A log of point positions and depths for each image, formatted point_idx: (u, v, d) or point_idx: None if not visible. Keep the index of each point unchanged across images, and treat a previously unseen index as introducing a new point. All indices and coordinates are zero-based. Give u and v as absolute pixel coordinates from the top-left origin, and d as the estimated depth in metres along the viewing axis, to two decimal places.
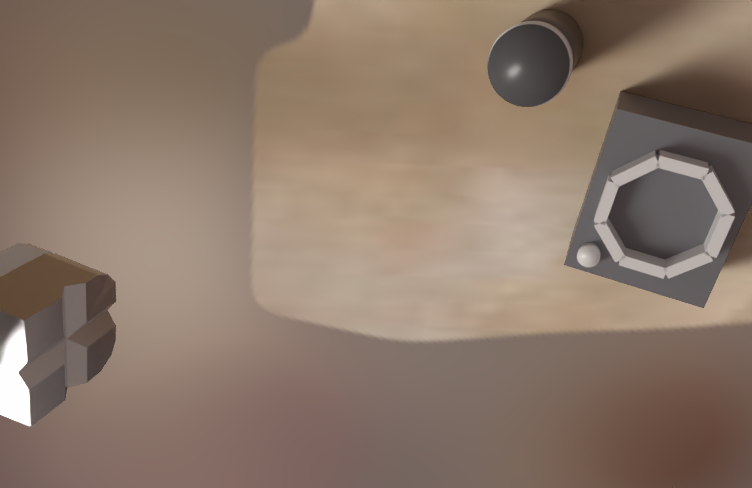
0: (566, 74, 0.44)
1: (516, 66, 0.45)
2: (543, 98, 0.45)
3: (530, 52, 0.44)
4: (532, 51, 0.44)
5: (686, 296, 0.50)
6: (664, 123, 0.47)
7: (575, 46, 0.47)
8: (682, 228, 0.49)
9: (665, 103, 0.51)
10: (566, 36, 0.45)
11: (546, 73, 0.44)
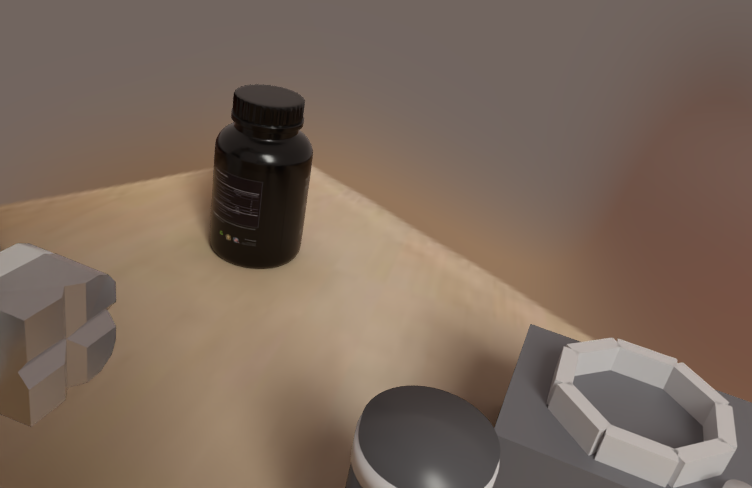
0: (446, 393, 0.27)
1: (429, 446, 0.24)
2: (484, 425, 0.26)
3: (406, 424, 0.25)
4: (405, 421, 0.25)
5: (745, 414, 0.36)
6: (509, 394, 0.34)
7: None
8: (650, 402, 0.36)
9: None
10: None
11: (443, 413, 0.26)
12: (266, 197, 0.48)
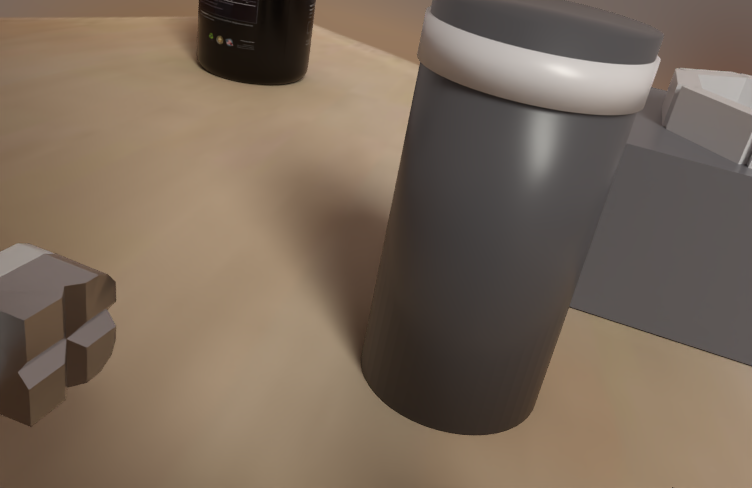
0: None
1: (550, 13, 0.15)
2: (625, 19, 0.16)
3: (507, 0, 0.16)
4: None
5: None
6: None
7: None
8: None
9: None
10: None
11: (559, 4, 0.17)
12: None
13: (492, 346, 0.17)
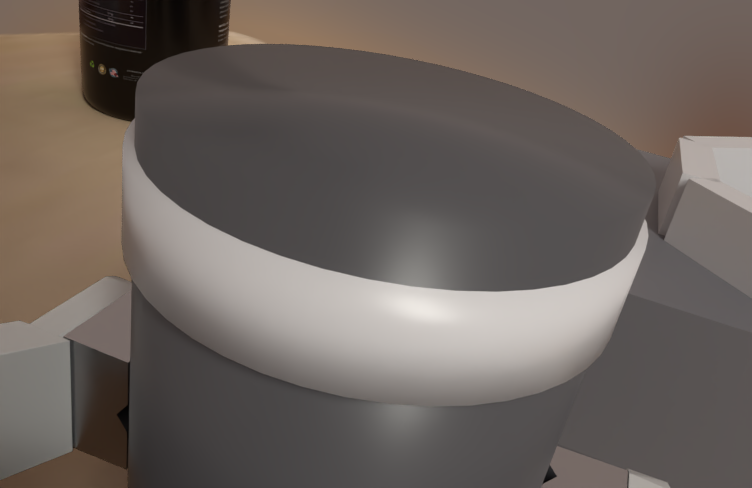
0: (450, 70, 0.09)
1: (392, 133, 0.06)
2: (579, 123, 0.08)
3: (318, 91, 0.07)
4: (314, 87, 0.07)
5: None
6: None
7: None
8: None
9: None
10: None
11: (443, 91, 0.08)
12: None
13: None
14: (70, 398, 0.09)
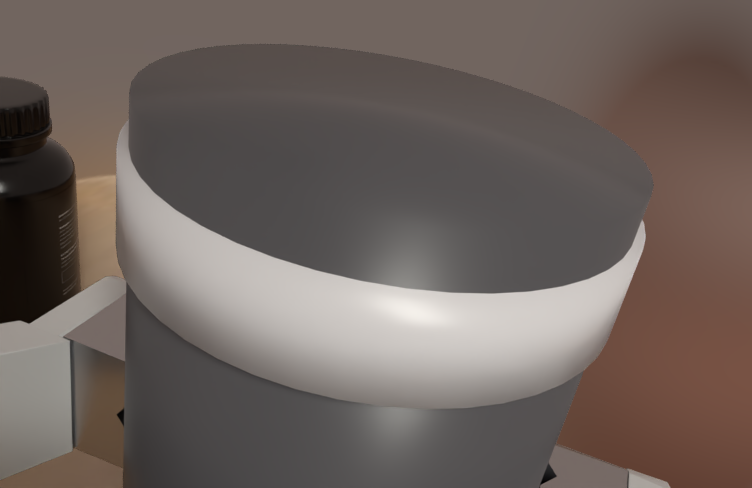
0: (447, 70, 0.09)
1: (388, 133, 0.06)
2: (576, 123, 0.08)
3: (314, 92, 0.07)
4: (310, 88, 0.07)
5: None
6: None
7: None
8: None
9: None
10: None
11: (440, 92, 0.08)
12: None
13: None
14: (70, 398, 0.09)
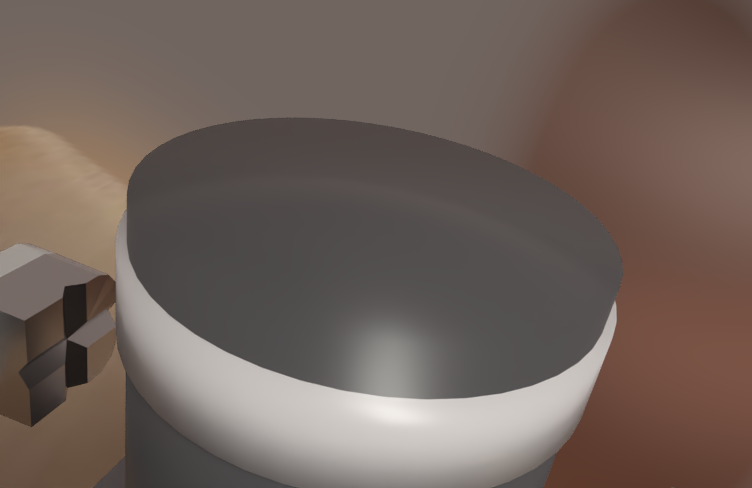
0: (433, 139, 0.10)
1: (371, 228, 0.07)
2: (554, 199, 0.08)
3: (302, 179, 0.08)
4: (299, 174, 0.08)
5: None
6: None
7: None
8: None
9: None
10: None
11: (424, 168, 0.08)
12: None
13: None
14: None
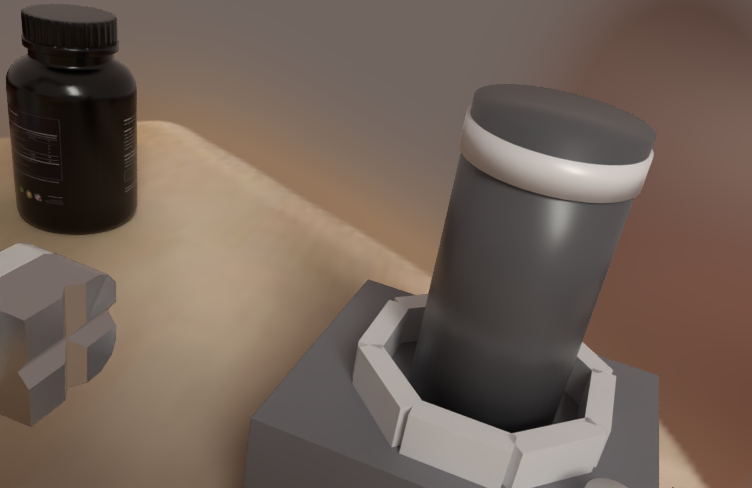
0: (568, 93, 0.22)
1: (566, 119, 0.19)
2: (625, 115, 0.20)
3: (532, 105, 0.20)
4: (529, 103, 0.20)
5: (644, 390, 0.26)
6: (300, 364, 0.24)
7: None
8: None
9: None
10: None
11: (572, 103, 0.21)
12: (66, 139, 0.38)
13: (521, 378, 0.21)
14: None
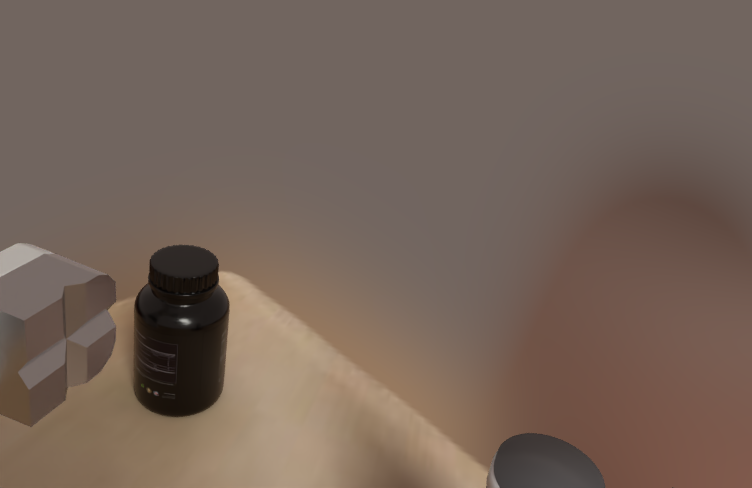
0: (552, 438, 0.35)
1: (551, 483, 0.32)
2: (588, 463, 0.33)
3: (531, 466, 0.33)
4: (529, 464, 0.33)
5: None
6: None
7: None
8: None
9: None
10: None
11: (555, 455, 0.33)
12: (182, 357, 0.51)
13: None
14: None
